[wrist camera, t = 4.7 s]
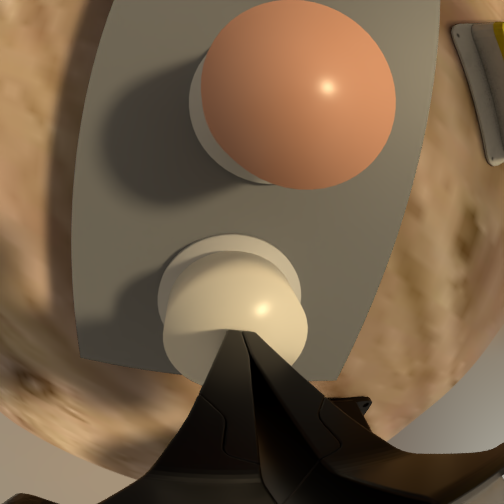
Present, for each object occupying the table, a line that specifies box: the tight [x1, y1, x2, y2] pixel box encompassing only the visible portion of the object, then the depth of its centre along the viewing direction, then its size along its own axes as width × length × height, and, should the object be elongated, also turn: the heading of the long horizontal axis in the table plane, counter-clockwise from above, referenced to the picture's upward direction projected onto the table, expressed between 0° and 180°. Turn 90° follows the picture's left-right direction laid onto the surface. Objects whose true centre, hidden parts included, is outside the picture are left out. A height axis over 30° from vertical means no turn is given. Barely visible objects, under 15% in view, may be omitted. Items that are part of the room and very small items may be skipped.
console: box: [71, 0, 440, 381], centre depth 10 cm, size 22×12×3 cm, turn 168°
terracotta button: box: [201, 0, 396, 190], centre depth 6 cm, size 4×4×2 cm
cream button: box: [163, 251, 308, 386], centre depth 10 cm, size 4×4×2 cm
